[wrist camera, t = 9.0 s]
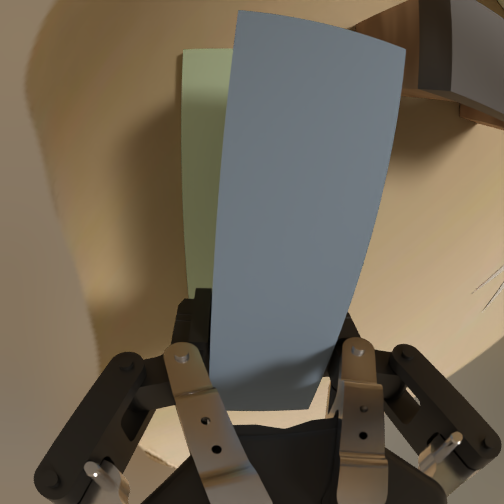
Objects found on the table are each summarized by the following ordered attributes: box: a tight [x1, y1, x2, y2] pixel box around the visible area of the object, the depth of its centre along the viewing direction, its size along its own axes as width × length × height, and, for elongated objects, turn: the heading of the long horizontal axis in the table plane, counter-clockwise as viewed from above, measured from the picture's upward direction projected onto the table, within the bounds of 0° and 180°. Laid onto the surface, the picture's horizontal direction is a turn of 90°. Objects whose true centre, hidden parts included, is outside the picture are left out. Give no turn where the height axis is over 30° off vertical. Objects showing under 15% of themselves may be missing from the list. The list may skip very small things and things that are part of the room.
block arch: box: [356, 0, 504, 130], centre depth 10 cm, size 4×10×8 cm, turn 88°
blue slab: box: [209, 10, 406, 411], centre depth 11 cm, size 14×4×4 cm, turn 174°
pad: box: [181, 49, 233, 299], centre depth 16 cm, size 15×8×1 cm, turn 177°
